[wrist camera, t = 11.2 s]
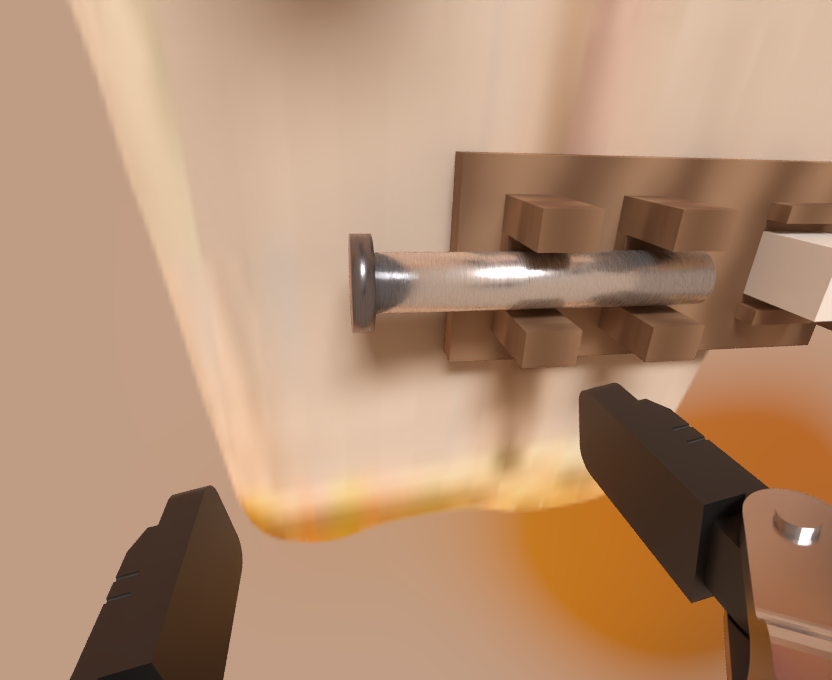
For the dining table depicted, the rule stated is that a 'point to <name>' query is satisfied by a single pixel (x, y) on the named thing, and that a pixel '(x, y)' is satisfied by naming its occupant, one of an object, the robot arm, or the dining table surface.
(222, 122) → the dining table surface
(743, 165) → the stand
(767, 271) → the block
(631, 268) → the shaft
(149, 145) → the dining table surface
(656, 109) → the dining table surface
